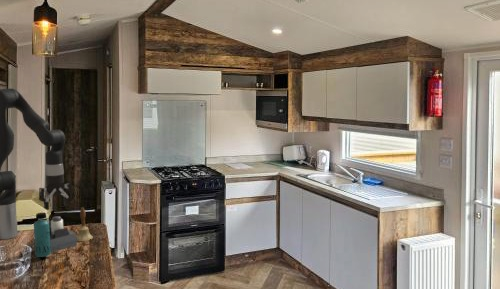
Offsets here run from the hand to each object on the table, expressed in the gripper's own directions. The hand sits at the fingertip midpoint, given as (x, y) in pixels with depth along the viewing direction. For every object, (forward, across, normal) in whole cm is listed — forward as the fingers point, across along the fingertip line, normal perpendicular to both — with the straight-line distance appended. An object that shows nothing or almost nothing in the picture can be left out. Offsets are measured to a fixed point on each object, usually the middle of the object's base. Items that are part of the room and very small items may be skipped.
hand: (56, 207), depth 200 cm
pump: (+13, 0, 0) cm, 13 cm away
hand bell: (+19, -14, -2) cm, 24 cm away
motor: (+19, +2, 0) cm, 19 cm away
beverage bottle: (+19, +10, +8) cm, 23 cm away
